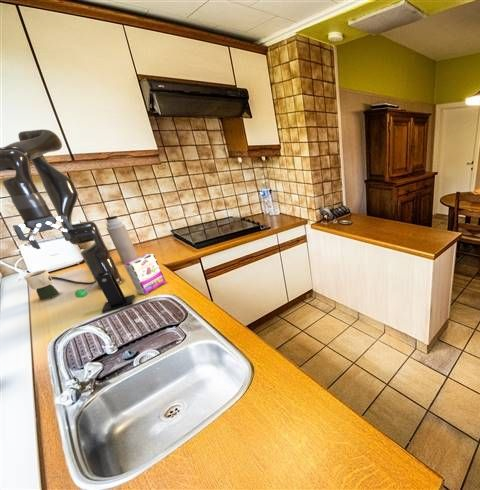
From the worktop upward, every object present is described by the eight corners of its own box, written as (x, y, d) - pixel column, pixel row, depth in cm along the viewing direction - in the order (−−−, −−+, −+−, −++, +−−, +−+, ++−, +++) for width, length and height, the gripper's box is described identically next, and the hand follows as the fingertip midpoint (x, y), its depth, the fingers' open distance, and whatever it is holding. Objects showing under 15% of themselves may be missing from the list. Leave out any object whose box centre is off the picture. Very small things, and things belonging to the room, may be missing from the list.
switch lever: (79, 300, 109) (70, 295, 107) (82, 297, 112) (73, 291, 110) (111, 279, 113) (103, 274, 111) (113, 276, 116) (105, 271, 114)
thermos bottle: (133, 257, 168) (114, 214, 157) (142, 258, 165) (123, 215, 154) (119, 262, 161) (98, 218, 150) (128, 264, 158) (107, 219, 147)
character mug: (65, 295, 128) (50, 272, 123) (43, 303, 123) (28, 279, 117) (56, 291, 133) (42, 268, 128) (35, 298, 127) (20, 275, 122)
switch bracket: (102, 313, 113) (85, 281, 107) (106, 304, 119) (90, 274, 113) (132, 304, 118) (117, 273, 112) (134, 296, 124) (120, 266, 118)
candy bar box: (158, 281, 136) (146, 253, 129) (166, 282, 135) (154, 253, 128) (137, 294, 126) (122, 263, 119) (145, 294, 125) (131, 264, 118)
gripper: (53, 200, 108) (73, 237, 115) (-2, 210, 96) (24, 250, 103) (61, 201, 105) (81, 239, 111) (5, 211, 93) (31, 252, 100)
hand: (53, 244), depth 107 cm, fingers open, 8 cm apart
